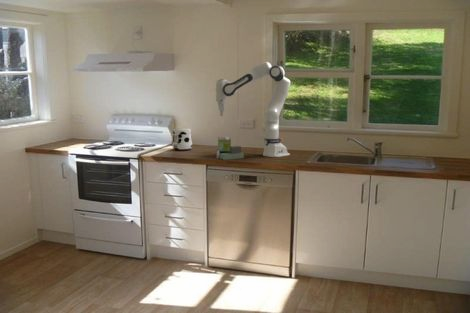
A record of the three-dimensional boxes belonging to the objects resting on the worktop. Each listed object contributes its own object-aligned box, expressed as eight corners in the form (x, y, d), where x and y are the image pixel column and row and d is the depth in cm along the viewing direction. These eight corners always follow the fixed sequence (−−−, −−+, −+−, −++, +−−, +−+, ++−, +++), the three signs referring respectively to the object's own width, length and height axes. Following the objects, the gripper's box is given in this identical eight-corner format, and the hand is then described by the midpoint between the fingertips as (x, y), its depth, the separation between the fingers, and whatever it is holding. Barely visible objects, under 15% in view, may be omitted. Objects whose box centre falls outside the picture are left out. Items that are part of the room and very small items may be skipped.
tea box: (231, 157, 361) (230, 139, 358) (218, 157, 361) (218, 139, 358) (230, 154, 376) (230, 136, 373) (218, 154, 375) (217, 136, 373)
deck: (238, 156, 367) (238, 145, 365) (243, 157, 359) (243, 146, 358) (216, 158, 357) (216, 147, 356) (221, 160, 350) (221, 148, 348)
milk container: (193, 148, 407) (192, 128, 403) (191, 151, 390) (191, 130, 386) (173, 148, 406) (173, 128, 403) (171, 151, 389) (170, 130, 386)
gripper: (225, 99, 363) (225, 117, 365) (224, 98, 383) (224, 114, 386) (217, 99, 363) (218, 117, 365) (217, 98, 383) (217, 115, 385)
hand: (221, 116), depth 375 cm, fingers closed
